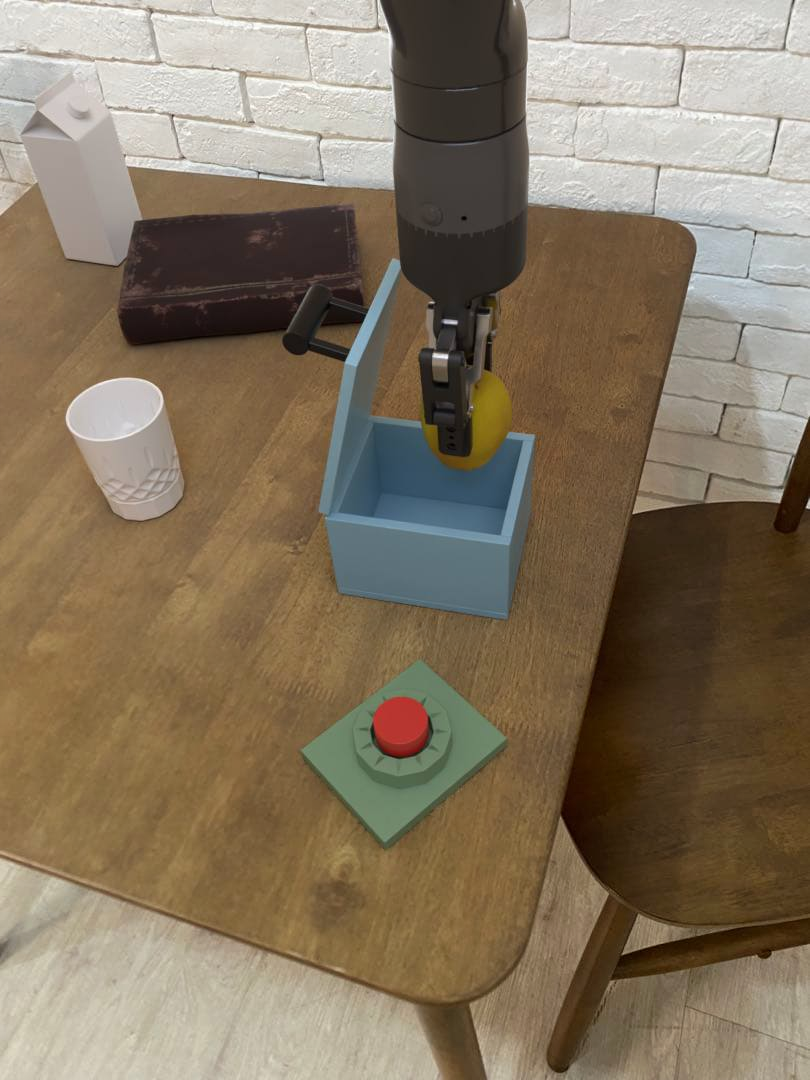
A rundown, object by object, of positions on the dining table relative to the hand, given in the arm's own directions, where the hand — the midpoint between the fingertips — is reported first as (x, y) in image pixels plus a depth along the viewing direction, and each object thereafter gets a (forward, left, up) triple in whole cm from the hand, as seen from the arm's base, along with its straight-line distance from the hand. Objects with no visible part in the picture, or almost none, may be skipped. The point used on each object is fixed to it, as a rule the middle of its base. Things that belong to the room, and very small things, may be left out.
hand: (466, 417), depth 65 cm
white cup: (+16, -25, -15) cm, 33 cm away
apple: (0, 0, -4) cm, 4 cm away
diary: (-9, -45, -15) cm, 48 cm away
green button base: (+16, +10, -15) cm, 24 cm away
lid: (+4, -6, +1) cm, 7 cm away
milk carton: (-2, -65, -15) cm, 67 cm away
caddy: (+2, -2, -15) cm, 15 cm away
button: (+15, +10, -12) cm, 22 cm away
